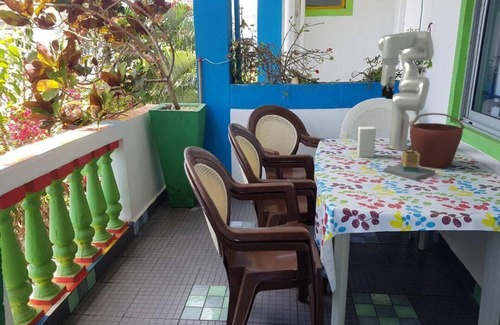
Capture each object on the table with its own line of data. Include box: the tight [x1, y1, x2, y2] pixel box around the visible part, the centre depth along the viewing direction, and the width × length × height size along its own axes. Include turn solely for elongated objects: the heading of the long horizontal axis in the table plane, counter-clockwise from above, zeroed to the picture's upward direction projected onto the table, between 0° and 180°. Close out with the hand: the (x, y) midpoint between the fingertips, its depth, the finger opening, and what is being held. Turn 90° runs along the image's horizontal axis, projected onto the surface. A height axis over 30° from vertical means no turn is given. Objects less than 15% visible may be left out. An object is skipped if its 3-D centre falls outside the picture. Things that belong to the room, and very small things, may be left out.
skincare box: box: [356, 126, 377, 158], centre depth 202 cm, size 8×7×16 cm
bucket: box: [408, 112, 466, 170], centre depth 186 cm, size 24×22×25 cm
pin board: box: [382, 163, 436, 181], centre depth 174 cm, size 16×16×6 cm
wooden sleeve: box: [400, 150, 420, 172], centre depth 174 cm, size 6×6×8 cm
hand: (386, 97), depth 190 cm, fingers open, 9 cm apart
